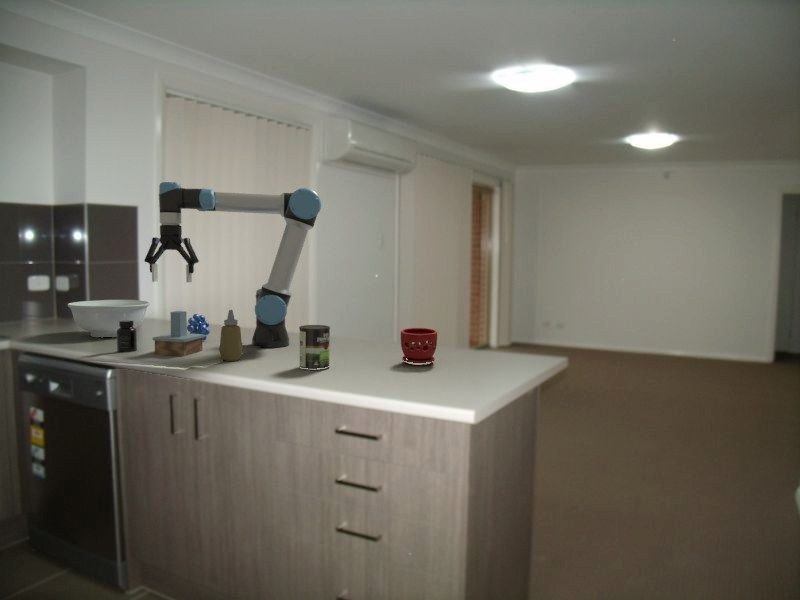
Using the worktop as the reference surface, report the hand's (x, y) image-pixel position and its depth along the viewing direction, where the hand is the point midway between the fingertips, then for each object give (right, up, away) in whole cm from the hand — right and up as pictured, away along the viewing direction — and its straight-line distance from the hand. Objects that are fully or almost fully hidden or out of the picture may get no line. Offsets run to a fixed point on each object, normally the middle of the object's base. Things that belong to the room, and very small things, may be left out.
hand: (172, 281), depth 231 cm
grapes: (+2, -25, +26) cm, 36 cm away
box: (+3, -27, -2) cm, 27 cm away
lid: (+3, -21, -2) cm, 21 cm away
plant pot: (+92, -30, -10) cm, 97 cm away
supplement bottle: (-17, -27, 0) cm, 32 cm away
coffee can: (+56, -30, -21) cm, 67 cm away
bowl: (-42, -23, +40) cm, 62 cm away
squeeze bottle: (+25, -28, -10) cm, 39 cm away
